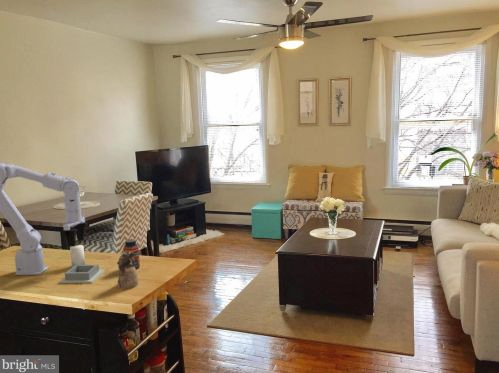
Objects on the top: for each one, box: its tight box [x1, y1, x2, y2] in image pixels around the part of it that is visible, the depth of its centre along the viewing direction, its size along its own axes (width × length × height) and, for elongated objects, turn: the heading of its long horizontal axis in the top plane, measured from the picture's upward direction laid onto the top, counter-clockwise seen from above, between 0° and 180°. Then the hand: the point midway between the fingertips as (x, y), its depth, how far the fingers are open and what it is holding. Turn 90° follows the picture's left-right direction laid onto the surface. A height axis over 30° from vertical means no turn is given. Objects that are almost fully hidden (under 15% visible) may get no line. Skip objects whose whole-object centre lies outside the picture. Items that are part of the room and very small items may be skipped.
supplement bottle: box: [122, 238, 141, 270], centre depth 169 cm, size 6×6×11 cm
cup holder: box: [58, 264, 105, 284], centre depth 161 cm, size 12×12×3 cm
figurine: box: [116, 252, 139, 290], centre depth 152 cm, size 7×7×12 cm
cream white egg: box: [69, 244, 86, 268], centre depth 173 cm, size 5×5×8 cm
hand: (76, 243), depth 172 cm, fingers open, 7 cm apart
